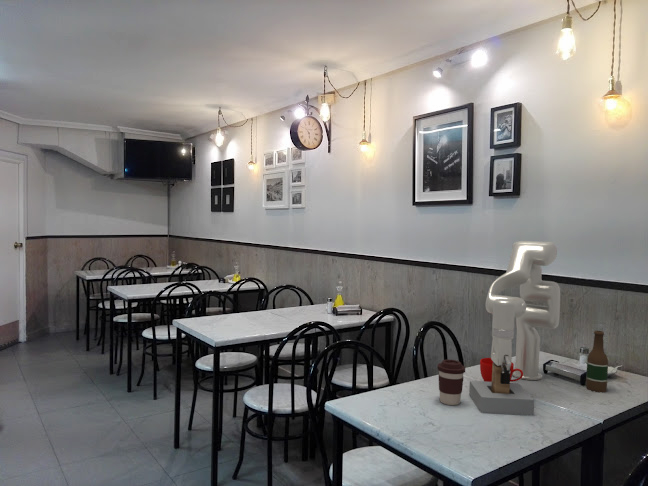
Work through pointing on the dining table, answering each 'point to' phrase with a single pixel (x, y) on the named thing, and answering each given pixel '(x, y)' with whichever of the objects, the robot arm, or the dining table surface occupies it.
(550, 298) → the robot arm
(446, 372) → the coffee cup
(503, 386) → the brown rectangular block
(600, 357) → the beer bottle
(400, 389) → the dining table surface
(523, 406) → the well block
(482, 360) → the ceramic cup
